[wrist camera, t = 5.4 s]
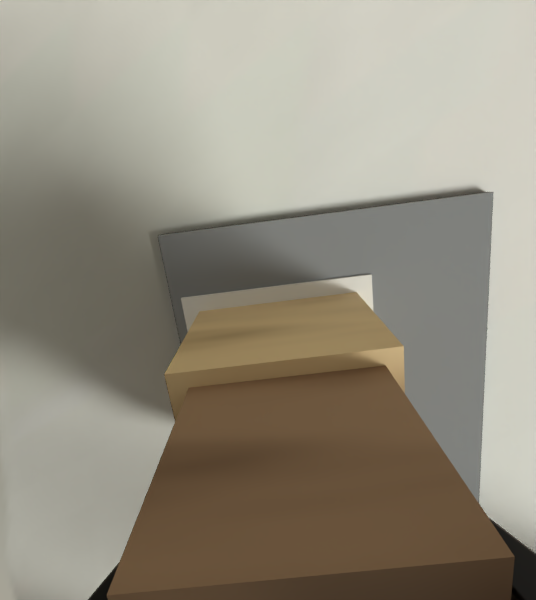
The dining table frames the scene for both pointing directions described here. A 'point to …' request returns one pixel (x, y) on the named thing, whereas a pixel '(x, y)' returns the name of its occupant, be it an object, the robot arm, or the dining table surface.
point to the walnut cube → (309, 501)
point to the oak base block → (282, 343)
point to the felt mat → (368, 292)
